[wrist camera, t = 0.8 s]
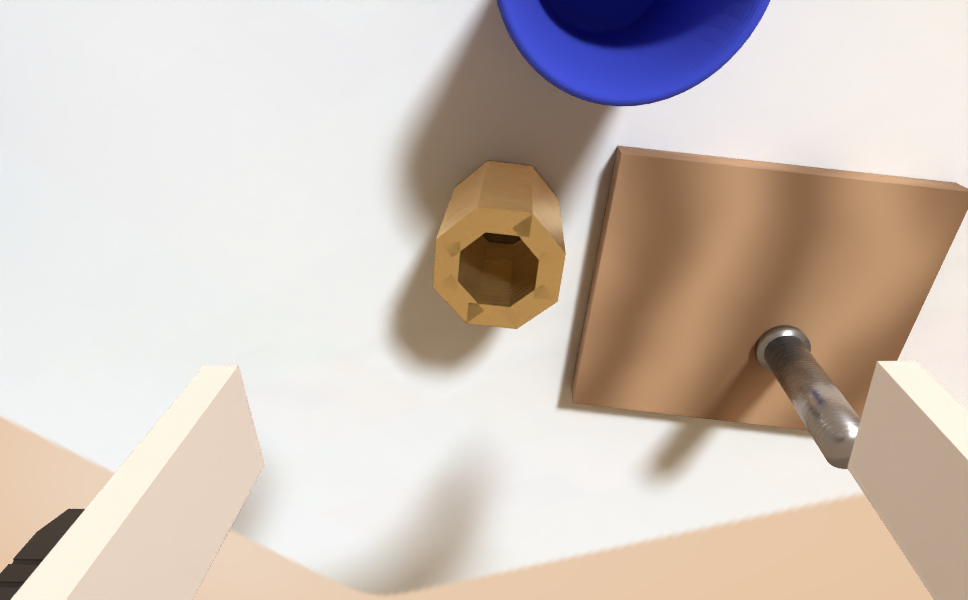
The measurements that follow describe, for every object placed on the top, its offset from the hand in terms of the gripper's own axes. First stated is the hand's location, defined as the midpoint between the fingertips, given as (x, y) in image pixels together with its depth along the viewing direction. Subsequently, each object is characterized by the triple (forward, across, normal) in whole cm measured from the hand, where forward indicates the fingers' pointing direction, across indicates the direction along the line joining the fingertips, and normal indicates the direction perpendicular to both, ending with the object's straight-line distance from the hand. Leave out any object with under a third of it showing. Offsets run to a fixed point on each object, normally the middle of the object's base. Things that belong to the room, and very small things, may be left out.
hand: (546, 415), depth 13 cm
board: (+19, +11, -7) cm, 23 cm away
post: (+18, +13, -9) cm, 24 cm away
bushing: (+20, -2, -2) cm, 20 cm away
